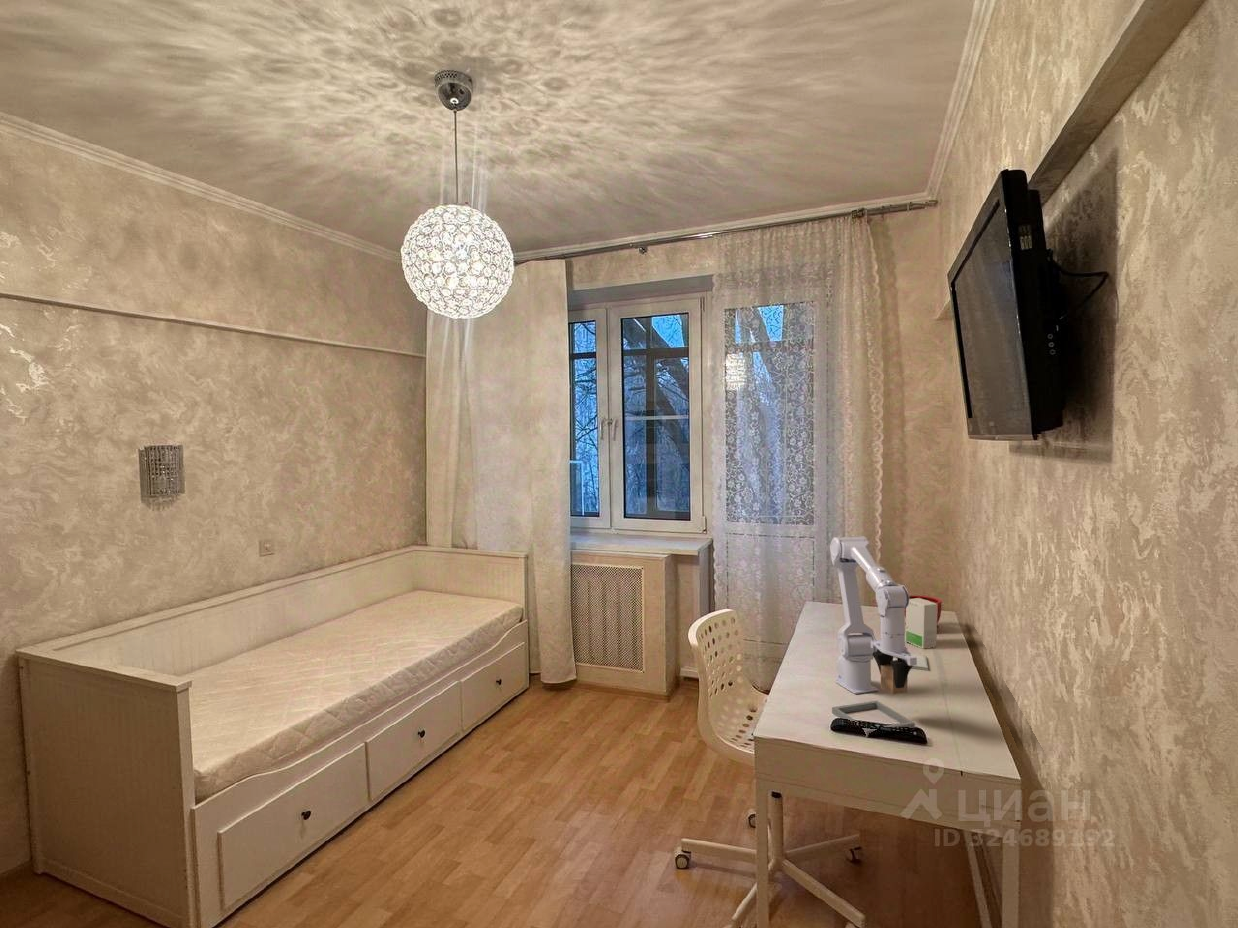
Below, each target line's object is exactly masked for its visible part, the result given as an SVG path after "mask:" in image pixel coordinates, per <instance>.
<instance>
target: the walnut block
mask: <svg viewBox="0 0 1238 928" xmlns="http://www.w3.org/2000/svg"><path fill="white" fill-rule="evenodd" d="M908 686H909V685H908V676H907V678H906V682H905V685H904V687H903V688H896V686H895V677H894V671H893V668H892V665H891V664H888V665H881V674H880V689H881V690H884V691H886V692H888V693H889V694H891V695H900V694H908V691H909V690H908V689H909V688H908Z"/></svg>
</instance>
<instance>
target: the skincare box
mask: <svg viewBox="0 0 1238 928" xmlns="http://www.w3.org/2000/svg"><path fill="white" fill-rule="evenodd" d="M937 608H938V604H936V603H933V602H930V601H928V600H924V599H921V598H915V599H909V605H908V606H907V607H906V618H905V622H906V626H905V641H907V642H909V643H911V644H910V645H912V644H913V645H912V646H914V645H915V647H917V646H918V647H917V648H919V647H921V648H920V649H922V648H923V649H922V650H925V649H924V648H927V649H930V648H929V647H933V646H936V647H937V635H938V632H937V631H938V630H937V625H938V623H937V612H938V611H937ZM907 642H906V643H907ZM909 643H908V644H909ZM933 648H934V647H933Z"/></svg>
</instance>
